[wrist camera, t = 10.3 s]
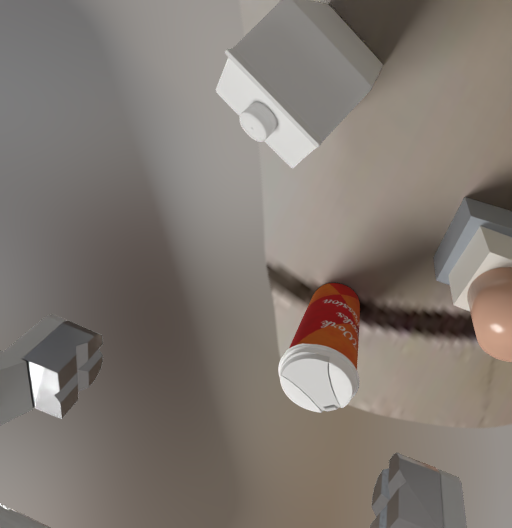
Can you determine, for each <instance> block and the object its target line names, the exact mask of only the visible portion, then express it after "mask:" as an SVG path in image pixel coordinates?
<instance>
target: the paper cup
mask: <svg viewBox="0 0 512 528" xmlns="http://www.w3.org/2000/svg"><path fill="white" fill-rule="evenodd" d="M359 318H360V303H359V299H358V296H357V295H356V293H355V292H354V291H353V290H352V289H351V288H349V287H348V286H346V285H343V284H340V283H328V284H325V285H323V286H321V287H320V288H318V289H317V291H316V292H315V294H314V295H313V297H312V299H311V301H310V303H309V306H308V308H307V310H306V312H305V314H304V316H303V319H302V321H301V323H300V325H299V328H298V330H297V332H296V334H295V336H294V339H293V341H292V343H291V345H290V348H289V349H287V351H286V352H285V354H284V355H283V356H282V358H281V360H280V363H279V376H280V382H281V386H282V388H283V390H284V392H285V394H286V395H287V396H288V397H289V398H290V399H291V400H292V401H293V402H295V403H296V404H297V405H299V406H300V407H303V408H305V409H307V410H310V411H315V412H322V411H324V410H326V411H331V410H336V409H337V408H338V407H342V408H343V407H344V406H346V405H347V404H348V403H349V402H350V400H351V399H352V398H353V397H354V396H355V394H356V393H357V391H358V388H359V382H360V381H359V375H358V372H357V357H358V339H359Z"/></svg>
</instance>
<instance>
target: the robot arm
mask: <svg viewBox="0 0 512 528" xmlns="http://www.w3.org/2000/svg"><path fill="white" fill-rule="evenodd" d="M102 344H103V337H102V335H101V334H98V333H96V332H93V331H91V330H89V329H87V328H85V327H82V326H80V325H78V324H75V323H73V322H71V321H68V320H66V319H64V318H61V317H59V316H56V315H54V314H51V315H48V316H46V317H45V318H43V319H42V320H41V321H40V322H39V323H37V324H36V325H35V326H34V327H33V328H31V329H30V330H29V331H28V332H26V333H25V334H24V335H23V336H22V337H20V338H19V339H18V340H17V341H16V342H14V343H13V344H12V345H11V346H10V347H8V348H7V349H6V350H5V351H1V350H0V426H1V425H3V424H5V423H7V422H9V421H11V420H12V419H15V418H17V417H19V416H21V415H23V414H25V413H27V412H29V411H31V410H33V408H36V409H38V410H41V411H43V412H45V413H48V414H50V415H53V416H55V417H58V418H60V419H62V418H63V417H64V416H65V415H66V413H67V412H68V411H69V410H70V409H71V408H72V406H73V405H74V404H75V403H76V402H77V401H78V391H81V390H83V389H86V388H88V387H89V386H90V385H91V384H92V383H93V382H94V380H95V379H96V377H97V375H98V373H99V372H100V370H101V366H102V362H103V355H102V353H101V352H100V350H99V348H100V347H101V346H102ZM372 509H373V511H374V513H375V515H376V518H375V520H374V521H373V522H372V524H371V525H370V528H467V525H466V516H465V508H464V500H463V491H462V483H461V481H460V479H459V477H457V476H454V475H452V474H449V473H447V472H444V471H442V470H439V469H436V468H435V467H433V466H430V465H428V464H425V463H422V462H420V461H417V460H415V459H412V458H410V457H407V456H404V455H402V454H399V453H395V454H393V456H392V457H391V459H390V460H389V468H388V469H384V470H382V472H381V473H380V475H379V477H378V479H377V481H376V484H375V487H374V492H373V497H372ZM0 528H51V527H49V526H47V525H45V524H43V523H41V522H39V521H37V520H34V519H32V518H30V517H28V516H26V515H24V514H22V513H19V512H18V511H16V510H14V509H12V508H9V507H7V506H5V505H3V504H1V503H0Z"/></svg>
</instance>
